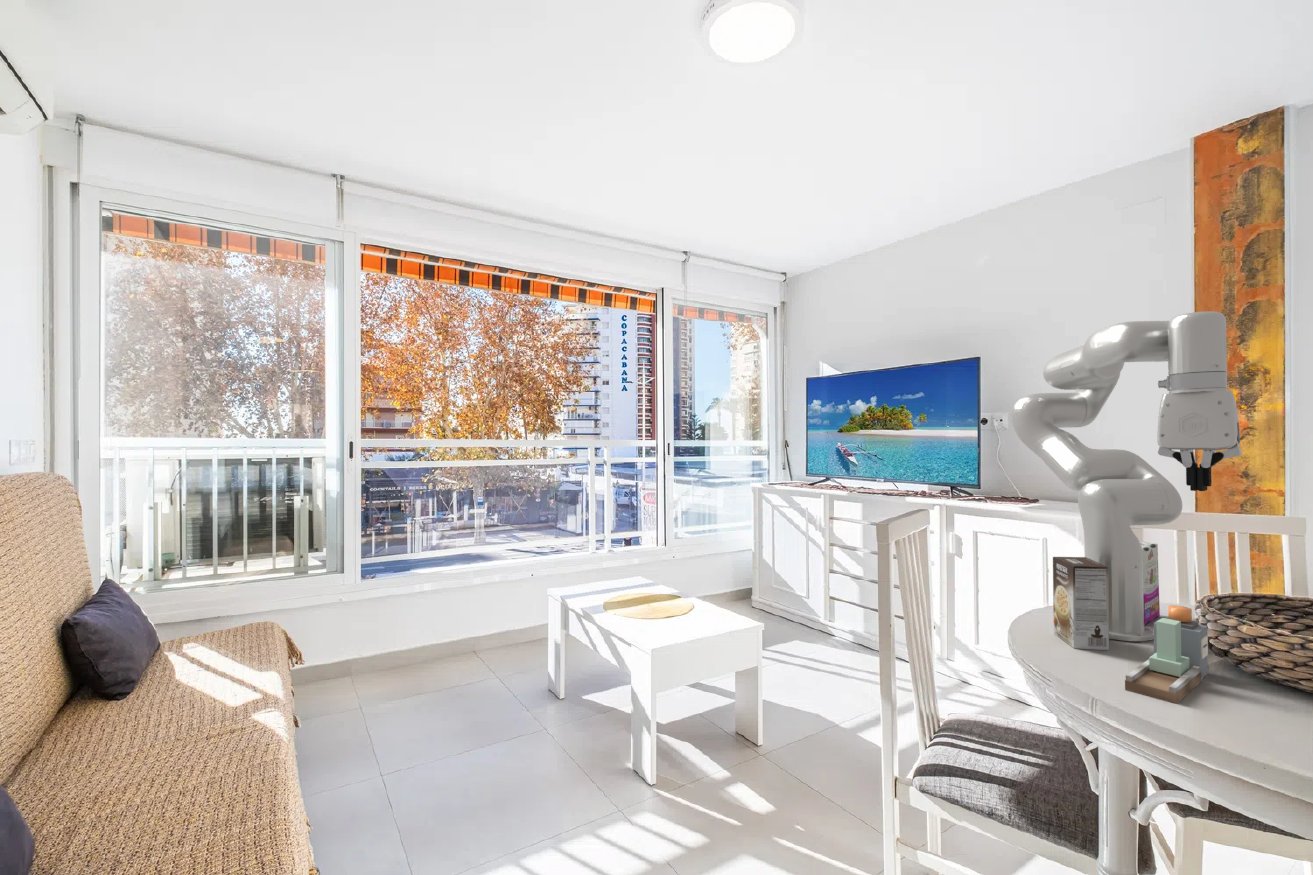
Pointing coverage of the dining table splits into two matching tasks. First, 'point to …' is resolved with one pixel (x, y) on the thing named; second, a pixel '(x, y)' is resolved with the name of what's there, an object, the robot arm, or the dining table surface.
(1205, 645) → the grey upright housing
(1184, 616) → the button
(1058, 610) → the coffee box
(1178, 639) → the carriage
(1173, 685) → the rail track
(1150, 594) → the candy bar box
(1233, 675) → the dining table surface
